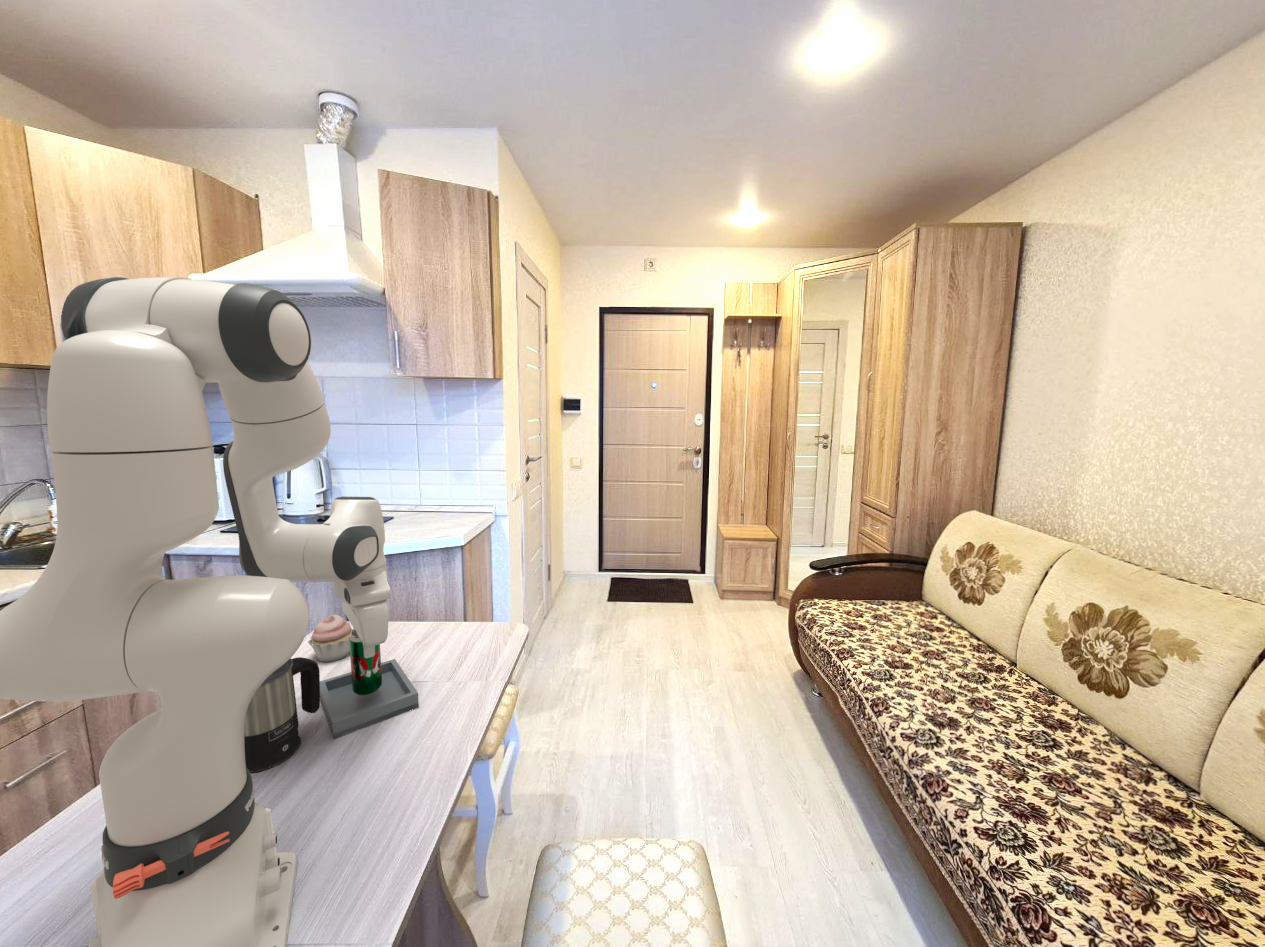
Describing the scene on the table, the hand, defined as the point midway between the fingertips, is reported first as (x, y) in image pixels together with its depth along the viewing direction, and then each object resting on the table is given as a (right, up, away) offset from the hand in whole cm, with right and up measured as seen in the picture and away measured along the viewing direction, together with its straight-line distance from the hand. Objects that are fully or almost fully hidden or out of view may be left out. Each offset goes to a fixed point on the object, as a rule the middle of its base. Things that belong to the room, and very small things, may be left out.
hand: (365, 649), depth 91 cm
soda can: (0, -8, +1) cm, 9 cm away
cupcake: (-17, -8, +18) cm, 26 cm away
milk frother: (-12, -12, -10) cm, 20 cm away
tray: (0, -11, +1) cm, 11 cm away
